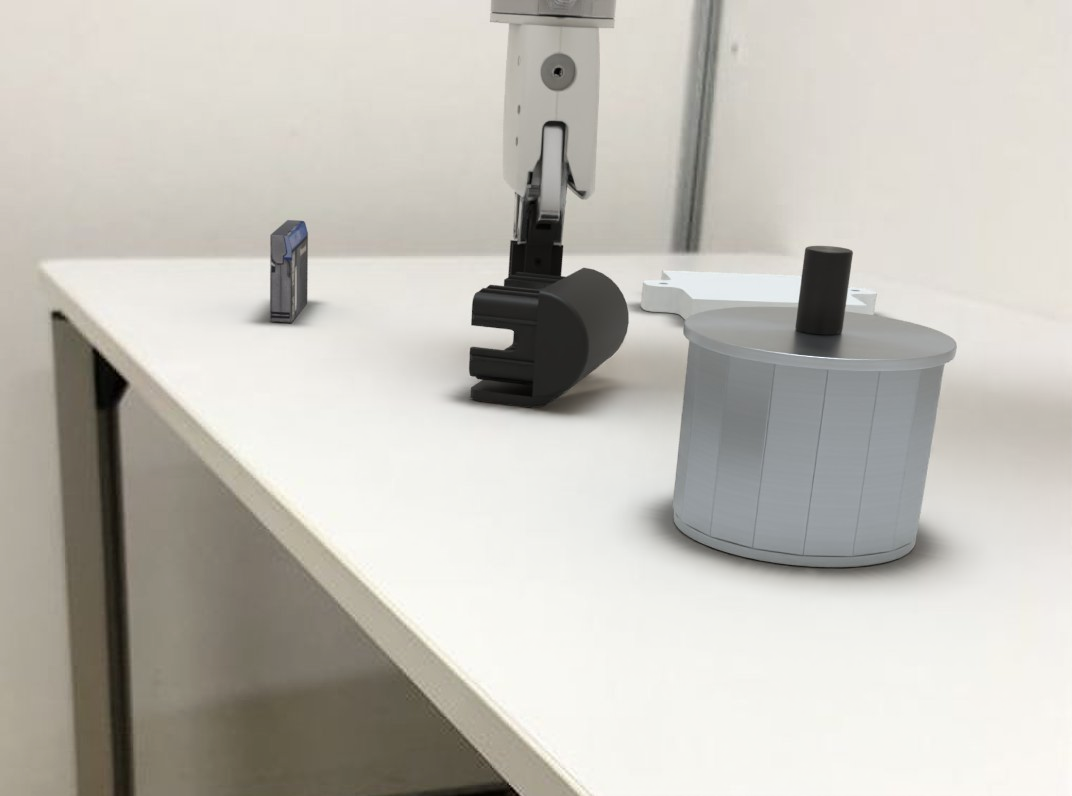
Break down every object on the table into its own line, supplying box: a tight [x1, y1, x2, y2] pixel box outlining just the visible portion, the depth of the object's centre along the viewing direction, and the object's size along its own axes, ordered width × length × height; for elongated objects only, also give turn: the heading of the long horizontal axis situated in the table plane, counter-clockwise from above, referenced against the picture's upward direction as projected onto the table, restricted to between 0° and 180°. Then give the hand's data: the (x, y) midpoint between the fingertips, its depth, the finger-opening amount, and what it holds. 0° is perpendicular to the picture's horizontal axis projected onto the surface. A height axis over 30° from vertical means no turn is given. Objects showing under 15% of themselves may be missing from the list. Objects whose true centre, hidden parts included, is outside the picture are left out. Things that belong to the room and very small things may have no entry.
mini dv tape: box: [269, 219, 309, 324], centre depth 116 cm, size 8×2×6 cm, turn 176°
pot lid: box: [682, 245, 958, 372], centre depth 70 cm, size 12×12×5 cm
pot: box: [672, 340, 945, 568], centre depth 72 cm, size 11×11×8 cm
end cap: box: [468, 267, 630, 408], centre depth 96 cm, size 10×7×7 cm
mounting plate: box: [640, 269, 878, 321], centre depth 125 cm, size 18×13×2 cm
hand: (532, 305), depth 104 cm, fingers closed
